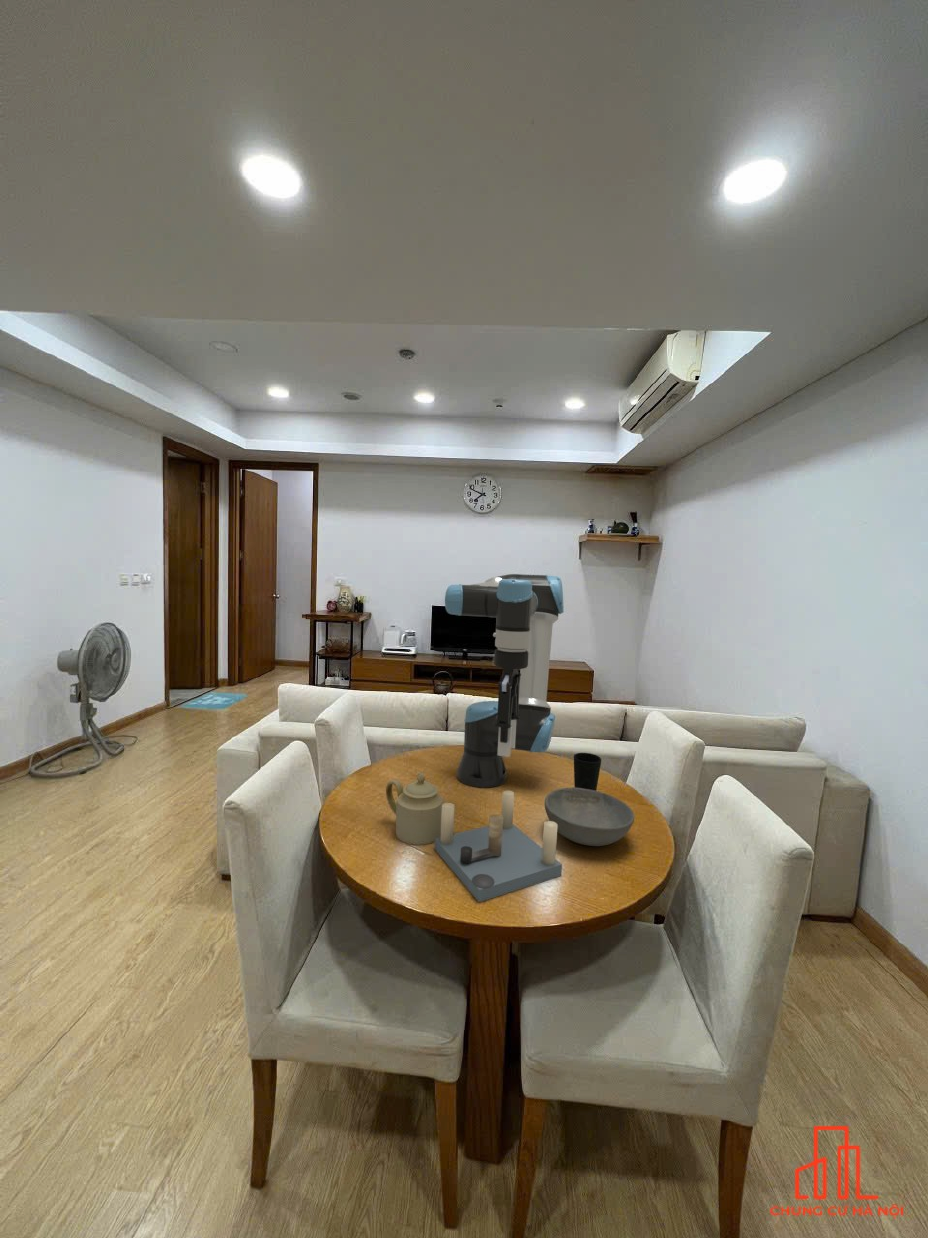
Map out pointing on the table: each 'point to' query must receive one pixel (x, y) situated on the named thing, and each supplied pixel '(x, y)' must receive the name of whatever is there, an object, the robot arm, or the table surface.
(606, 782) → the table surface
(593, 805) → the bowl
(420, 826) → the teapot
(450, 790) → the table surface
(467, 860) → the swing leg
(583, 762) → the cup
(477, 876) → the stool seat
